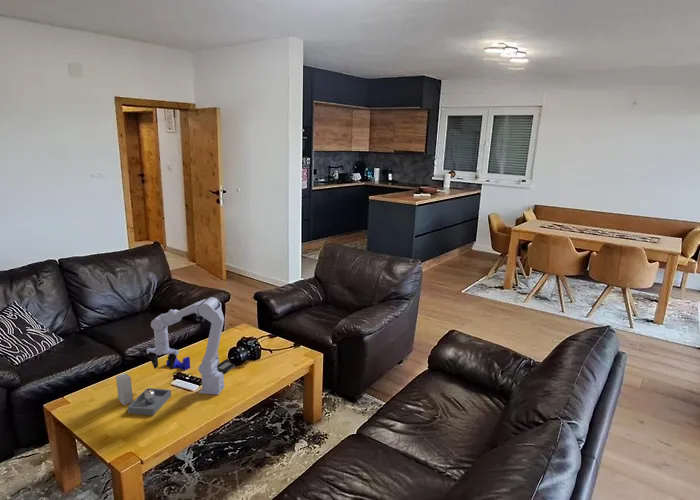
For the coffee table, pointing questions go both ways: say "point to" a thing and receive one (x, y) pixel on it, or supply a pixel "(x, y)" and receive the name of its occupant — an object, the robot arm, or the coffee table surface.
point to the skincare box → (124, 388)
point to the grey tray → (141, 408)
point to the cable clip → (183, 365)
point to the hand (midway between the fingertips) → (163, 368)
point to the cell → (149, 397)
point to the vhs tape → (225, 366)
